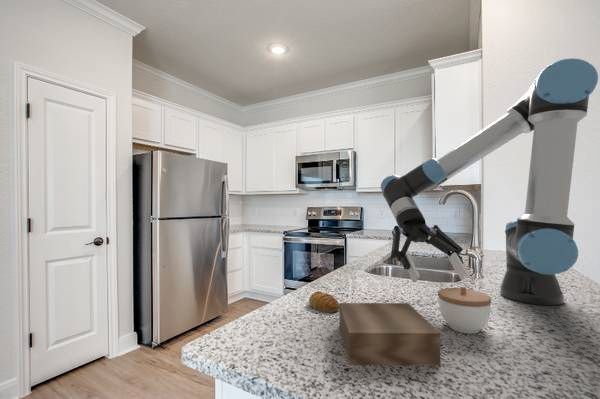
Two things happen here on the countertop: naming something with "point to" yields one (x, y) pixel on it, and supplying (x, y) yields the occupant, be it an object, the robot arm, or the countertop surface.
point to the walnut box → (387, 335)
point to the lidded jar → (464, 309)
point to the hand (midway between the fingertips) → (441, 278)
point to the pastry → (323, 302)
